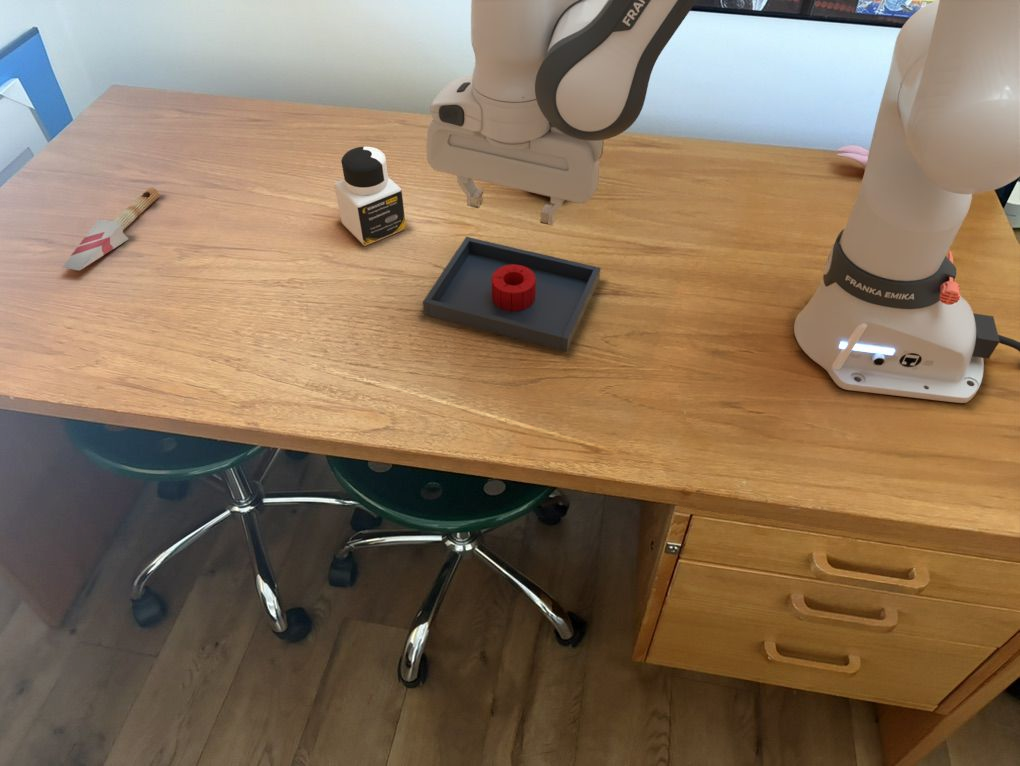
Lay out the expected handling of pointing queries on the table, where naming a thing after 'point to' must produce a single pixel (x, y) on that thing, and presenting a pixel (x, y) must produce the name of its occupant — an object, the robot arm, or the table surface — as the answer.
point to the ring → (513, 287)
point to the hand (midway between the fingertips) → (511, 213)
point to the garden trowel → (108, 233)
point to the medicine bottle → (369, 196)
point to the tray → (544, 322)
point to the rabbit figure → (855, 154)
